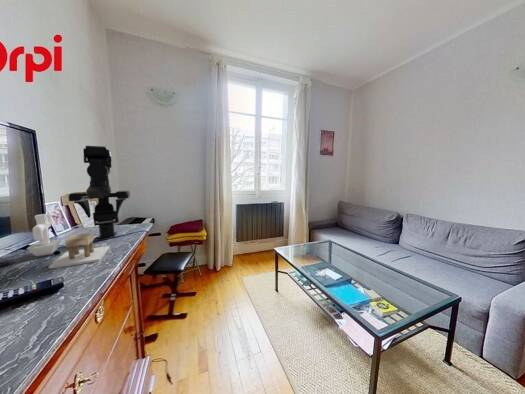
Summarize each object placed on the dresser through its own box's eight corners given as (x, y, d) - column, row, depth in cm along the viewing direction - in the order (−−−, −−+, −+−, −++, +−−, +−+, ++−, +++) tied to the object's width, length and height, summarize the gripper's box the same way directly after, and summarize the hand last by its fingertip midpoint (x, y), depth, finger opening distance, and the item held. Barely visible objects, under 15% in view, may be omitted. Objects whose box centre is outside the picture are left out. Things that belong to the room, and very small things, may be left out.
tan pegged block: (67, 260, 69) (64, 240, 68) (74, 253, 74) (72, 235, 73) (89, 256, 72) (87, 237, 71) (95, 250, 77) (93, 233, 76)
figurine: (26, 259, 71) (19, 218, 69) (39, 250, 79) (33, 212, 77) (53, 255, 75) (48, 215, 73) (64, 246, 83) (59, 211, 81)
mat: (67, 253, 76) (66, 251, 76) (109, 248, 82) (108, 246, 82) (48, 268, 64) (48, 266, 64) (99, 261, 70) (99, 258, 70)
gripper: (58, 179, 69) (64, 223, 71) (123, 178, 77) (127, 218, 79) (72, 178, 79) (77, 217, 81) (128, 177, 87) (131, 213, 89)
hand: (103, 216), depth 82 cm, fingers open, 9 cm apart
